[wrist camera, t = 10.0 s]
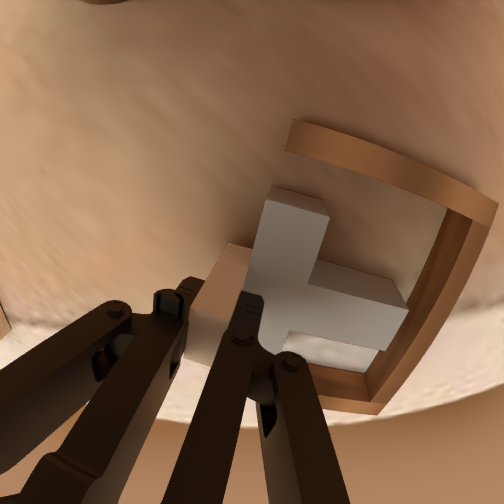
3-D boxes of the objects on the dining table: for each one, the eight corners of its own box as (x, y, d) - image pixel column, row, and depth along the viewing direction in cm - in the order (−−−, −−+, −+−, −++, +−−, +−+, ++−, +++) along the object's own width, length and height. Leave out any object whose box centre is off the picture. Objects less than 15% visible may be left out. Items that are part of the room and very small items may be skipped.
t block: (235, 326, 20) (224, 359, 17) (271, 185, 16) (265, 198, 13) (353, 354, 20) (359, 389, 17) (413, 230, 16) (437, 252, 13)
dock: (230, 358, 21) (222, 386, 19) (293, 122, 14) (293, 118, 12) (371, 388, 21) (377, 415, 18) (472, 191, 14) (498, 203, 11)
